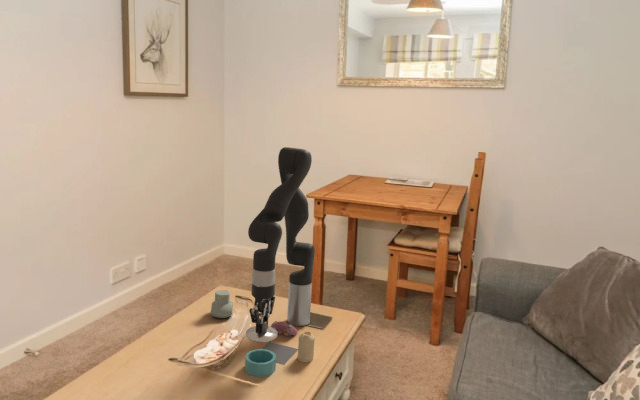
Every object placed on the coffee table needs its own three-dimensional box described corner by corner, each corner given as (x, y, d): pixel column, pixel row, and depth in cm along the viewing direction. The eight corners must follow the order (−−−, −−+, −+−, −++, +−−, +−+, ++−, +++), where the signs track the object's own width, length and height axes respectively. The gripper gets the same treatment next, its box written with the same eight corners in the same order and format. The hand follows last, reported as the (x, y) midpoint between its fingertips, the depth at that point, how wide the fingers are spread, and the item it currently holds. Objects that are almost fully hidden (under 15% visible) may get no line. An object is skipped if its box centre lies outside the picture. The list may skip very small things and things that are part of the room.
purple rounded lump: (271, 336, 201) (268, 324, 197) (276, 327, 204) (273, 315, 200) (294, 342, 198) (291, 330, 194) (299, 332, 201) (296, 321, 197)
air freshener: (212, 309, 218) (213, 287, 216) (232, 309, 219) (233, 287, 217) (210, 321, 208) (210, 297, 206) (231, 321, 209) (231, 297, 207)
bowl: (254, 359, 180) (254, 346, 179) (280, 366, 177) (280, 353, 176) (239, 373, 171) (239, 359, 170) (266, 381, 168) (267, 367, 167)
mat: (269, 343, 193) (269, 341, 192) (298, 350, 188) (298, 349, 188) (253, 357, 182) (253, 356, 182) (284, 366, 177) (284, 364, 177)
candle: (311, 364, 179) (312, 338, 177) (295, 362, 180) (297, 335, 178) (314, 357, 185) (316, 331, 182) (299, 354, 186) (301, 328, 183)
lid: (255, 325, 178) (255, 312, 177) (282, 332, 174) (283, 318, 173) (239, 337, 168) (240, 324, 167) (268, 345, 165) (268, 331, 164)
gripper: (263, 272, 175) (261, 320, 179) (242, 286, 162) (240, 337, 166) (283, 276, 173) (281, 324, 176) (263, 290, 160) (261, 342, 163)
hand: (261, 330), depth 171 cm, fingers closed on lid, 3 cm apart
